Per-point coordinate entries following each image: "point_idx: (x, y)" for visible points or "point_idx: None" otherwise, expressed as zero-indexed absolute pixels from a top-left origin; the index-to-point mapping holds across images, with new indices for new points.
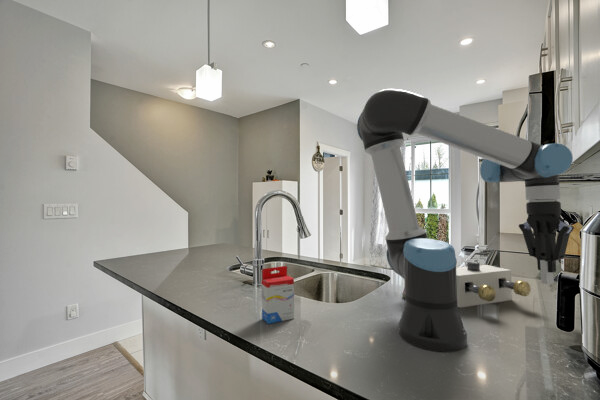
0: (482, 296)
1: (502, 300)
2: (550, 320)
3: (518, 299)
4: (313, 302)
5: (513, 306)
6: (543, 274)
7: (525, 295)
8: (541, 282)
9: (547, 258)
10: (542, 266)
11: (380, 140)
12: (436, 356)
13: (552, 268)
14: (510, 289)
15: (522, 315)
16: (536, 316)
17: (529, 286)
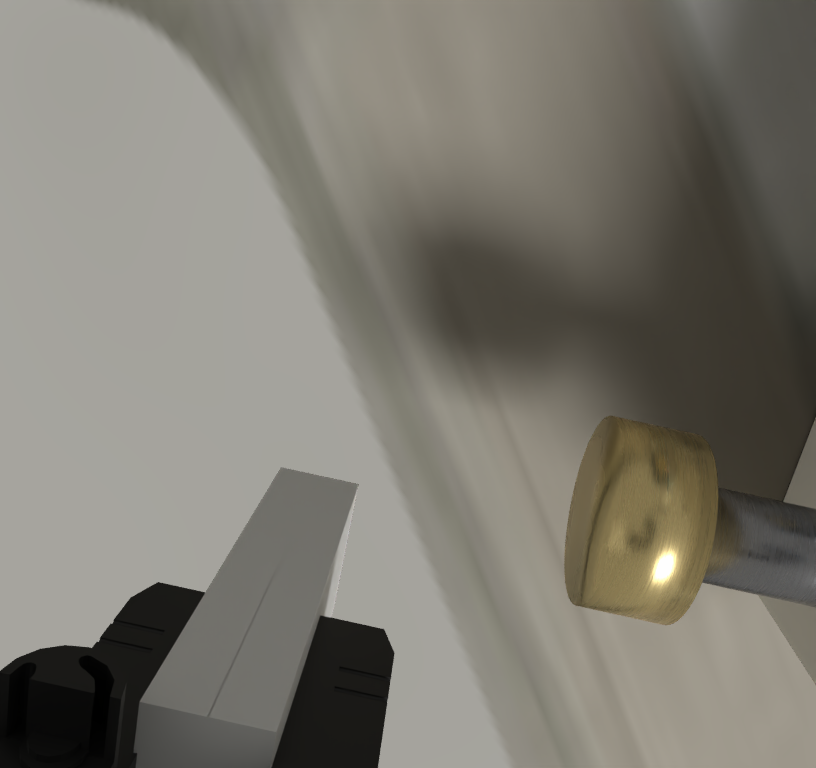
0: None
1: (801, 467)
2: (315, 283)
3: (717, 645)
4: None
5: (664, 396)
6: (292, 538)
7: (581, 476)
8: (356, 486)
9: (54, 745)
10: (264, 625)
11: None
12: None
13: (109, 626)
14: (802, 636)
15: (504, 198)
16: (422, 286)
17: (574, 590)
